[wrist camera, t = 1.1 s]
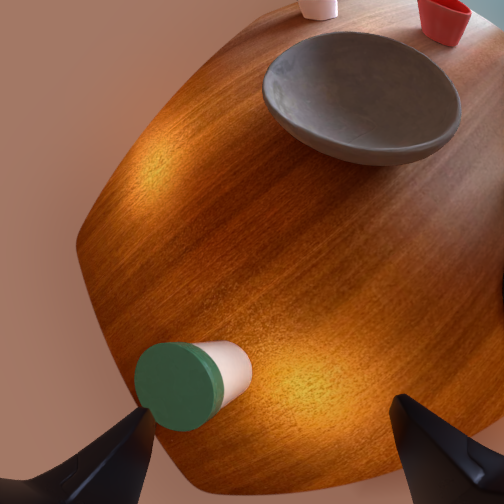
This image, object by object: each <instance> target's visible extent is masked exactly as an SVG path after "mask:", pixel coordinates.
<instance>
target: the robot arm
mask: <svg viewBox="0 0 504 504" xmlns="http://www.w3.org/2000/svg"><path fill="white" fill-rule="evenodd" d="M389 415H390V420H391V424H392V429H393V434H394V439H395V443H396V448H397V451H398V454H399V457H400V460H401V463H402V466H403V469H404V472H405V476H406V479H407V482H408V486H409V489H410V493H411V496H412V500H413V503H414V504H504V456H503V455H501V454H499V453H497V452H495V451H492V450H490V449H489V448H487V447H485V446H483V445H481V444H480V443H478V442H476V441H475V440H473V439H472V438H470V437H468V436H467V435H465V434H464V433H462V432H461V431H459V430H458V429H456V428H455V427H453V426H452V425H450V424H449V423H447V422H446V421H444V420H443V419H441V418H440V417H438V416H437V415H436V414H434V413H433V412H431V411H430V410H428V409H427V408H425V407H424V406H422V405H421V404H420V403H418V402H417V401H415V400H414V399H412V398H411V397H409V396H408V395H407V394H400V395H396V396H395V397H394V399H393V401H392V404H391V407H390V410H389ZM155 430H156V421H155V419H154V417H153V415H152V413H151V411H150V409H149V408H145V407H138V408H136V409H135V410H134V411H133V412H131V413H130V414H129V415H127V416H126V417H125V418H124V419H122V420H121V421H120V422H118V423H117V424H116V425H115V426H113V427H112V428H111V429H109V430H108V431H107V432H105V433H104V434H103V435H101V436H100V437H99V438H97V439H96V440H95V441H93V442H92V443H91V444H89V445H88V446H86V447H85V448H84V449H82V450H81V451H79V452H78V454H75V455H74V456H72V457H71V458H69V459H68V460H66V461H65V462H63V463H62V464H60V465H58V466H56V467H54V468H53V469H51V470H49V471H47V472H45V473H43V474H41V475H39V476H37V477H35V478H32V479H29V480H12V479H4V478H0V504H138V501H139V497H140V493H141V490H142V486H143V482H144V479H145V476H146V472H147V469H148V465H149V462H150V458H151V453H152V446H153V441H154V435H155Z"/></svg>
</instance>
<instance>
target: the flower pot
mask: <svg viewBox="0 0 504 504" xmlns="http://www.w3.org/2000/svg"><path fill="white" fill-rule="evenodd" d="M417 2H418V8H419V14H420V20H421V27H422V31H423V33H424V34H425V35H426V36H427V37H429V38H430V39H432V40H434V41H436V42H439V43H440V44H443V45H446V46H452V47H453V46H456V45H457V44H458V42H459V41H460V39H461V37H462V35H463V33H464V31H465V28H466V26H467V24H468V22H469V19H470V17H471V14H472V12H471V10H470V9H469V8H468V7H467V6H466V5H464V4H463V3H462V2H460V1H458V0H417Z"/></svg>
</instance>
